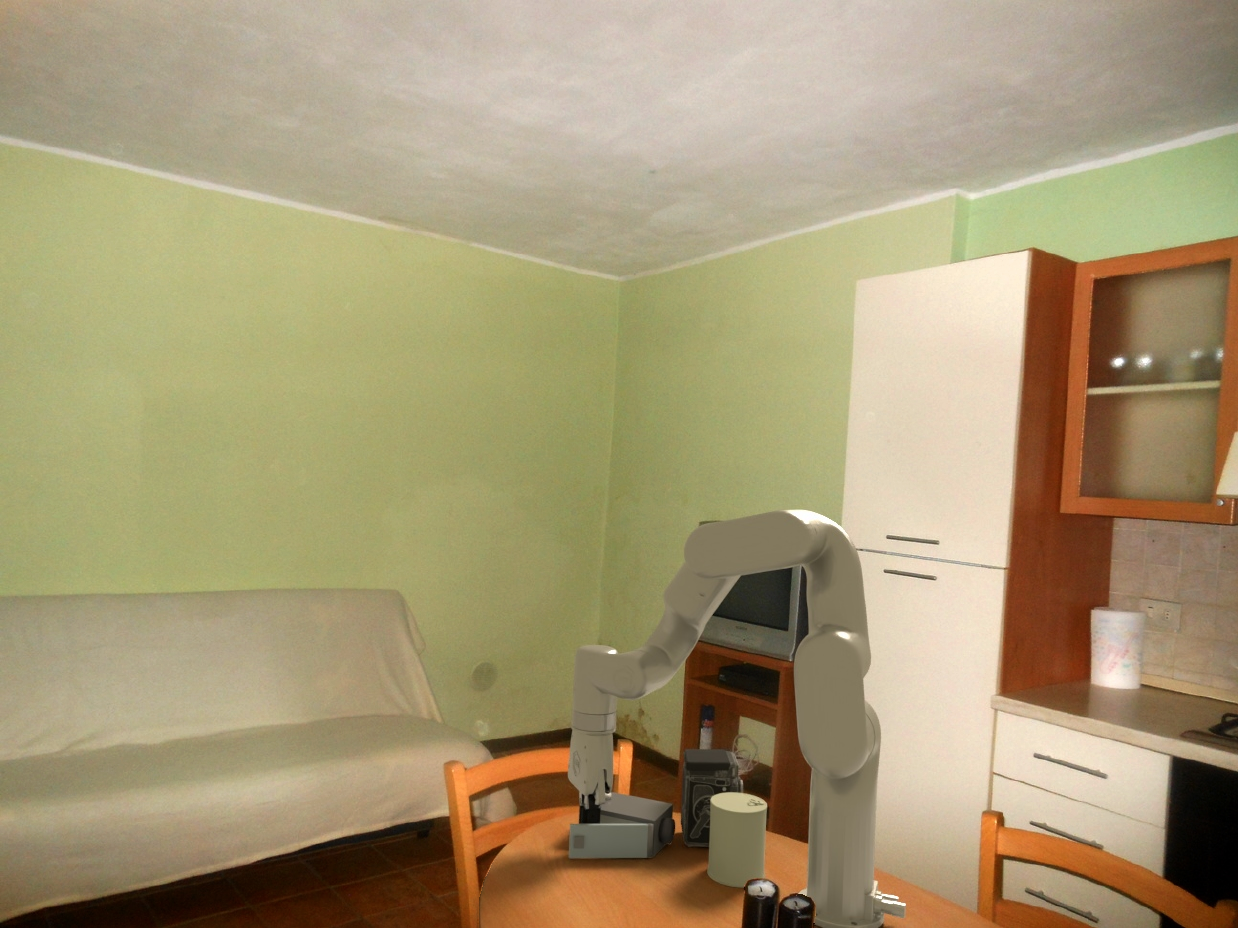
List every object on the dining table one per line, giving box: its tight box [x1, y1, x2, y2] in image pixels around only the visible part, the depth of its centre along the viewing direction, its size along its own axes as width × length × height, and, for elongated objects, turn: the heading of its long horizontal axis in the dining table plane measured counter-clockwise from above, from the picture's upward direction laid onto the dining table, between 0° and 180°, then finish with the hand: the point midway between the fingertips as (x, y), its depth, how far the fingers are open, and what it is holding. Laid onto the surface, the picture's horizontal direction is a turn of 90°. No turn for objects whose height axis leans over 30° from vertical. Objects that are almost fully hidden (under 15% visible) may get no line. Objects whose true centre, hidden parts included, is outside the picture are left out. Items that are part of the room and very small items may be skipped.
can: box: [706, 792, 768, 889], centre depth 136 cm, size 9×9×12 cm
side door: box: [568, 823, 654, 859], centre depth 140 cm, size 14×2×5 cm, turn 97°
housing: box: [578, 791, 676, 858], centre depth 148 cm, size 16×9×7 cm, turn 67°
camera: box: [680, 748, 744, 848], centre depth 149 cm, size 10×11×15 cm
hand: (589, 830), depth 142 cm, fingers closed
